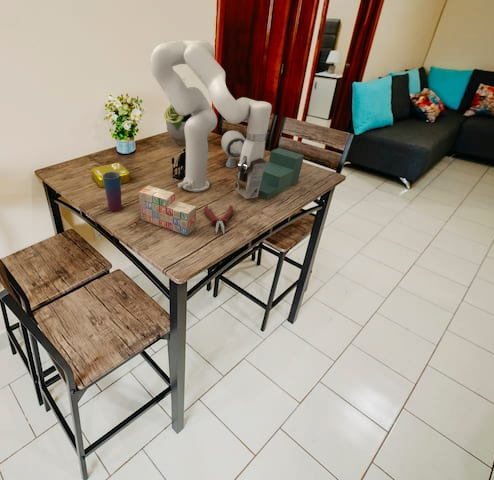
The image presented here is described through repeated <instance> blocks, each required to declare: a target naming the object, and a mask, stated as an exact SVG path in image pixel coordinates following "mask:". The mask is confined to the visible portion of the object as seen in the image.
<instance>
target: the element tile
mask: <svg viewBox="0 0 494 480" xmlns="http://www.w3.org/2000/svg"><path fill="white" fill-rule="evenodd" d="M112 171H114V172H118V173H120V180H121V185H122V184H126V183H129V182H131V173H130V171H129V170H128V169H127V168H126V167H125V166H124V165H123V164H122V163H121V162H114V163H110V164H104V165H100V166H95V167H92V168H91V175H92V176H91V177H92V178H93V180H94V181H95V182H96V184H97V185H98V186H99V187H100V188H105V186H104V181H103V174H104V173H106V172H112Z"/></svg>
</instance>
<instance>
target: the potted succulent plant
mask: <svg viewBox="0 0 494 480" xmlns="http://www.w3.org/2000/svg"><path fill="white" fill-rule="evenodd" d="M163 116H164V117H163V118H164V120H165V121H166V123H165V124H166V131H167V134H168V136H169V137H170V138H171V139H172V140H174V141H176V143H177V144H178V145H180V146H186V139H185V133H184V127H185V124H186V122H187V120H188V119H189V118H190V117H192V114H191V113H190V114H188V115H185V116H181V115H179V114H178V113H177V112H176V111H175V109H174V108H173V106H172V104H171V103H170V105H169V106H168V107H167V108H166V109H165V112H164V114H163Z"/></svg>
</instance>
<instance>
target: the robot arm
mask: <svg viewBox="0 0 494 480" xmlns="http://www.w3.org/2000/svg"><path fill="white" fill-rule="evenodd" d="M215 53H216V52H215V48H214V46H213V44H212V43H211V42H210V41H208V40H203V39H202V40H199V39H198V40H196V39H195V40H193V39H189V40H188V39H187V40H185V39H176V40H172V41H165V42H162V43H160V44H158V45H157V46H156V47H154V49H153V51H152V53H151V56H150V62H149V63H150V69H151V73H152V75H153V77H154V79H155V81H156V82H157V83H158V85H159V87H160V88H161V89H162V91H163V92H164V94H165V96H166V98H167V99H168V101H169V103H170V105H171V104H172V106H173V108H174V109H175V111H176V112H177V113H178V114H179V115H181V116H185V115H188V114H190V113H191V114H192V117H190V118H189V119H188V120H187V122H186V124H185V127H184V133H185V139H186V145H185V172H184V173H185V174H184V175H185V177H183V180H182V181H181V182H179V183H177V187H178V188H183V189H184V190H185V191H188V192H193V193H199V192H204V191H206V190H208V189H209V188H210V182H209V181H208V180H207V177H208V176H207V173H208V159H209V158H208V157H209V141H208V135H209V134H210V133H212V132H213V131H214V130H215V129H216V127H217V126H218V125H217V124H218V117H217V115H216V113H215V110H214V109H213V107H212V105H211V104H210V102H209V101H208V99H207V97H206V95H205V94H204V93H203V91H201V90H200V89H199V88H198V87H196V86H189V87H187V85H186V84H185V82H184V81H183V79H182V77H181V75H180V74H178V73H177V71H175V70H174V68H173V67H176V66H178V65H187V66H188V67H189V69H190V70H191V71H192V72H193V73H194V75H195V76H196V77H197V78H198V80H199V81H200V82H201V83H202V85H204V87H205V88H206V90H207V92H208V95H209V98H210V100H211V102H212V104H213V106H214V108H215V109H216V110H217V112H218V113H219V114H220V115H221V117H223V118H224V120H225V121H226V122H228V123H230V124H232V125H237V124H240V123H242V122H243V121H245V120H246V119H248V122H247V128H246V135H245V142H244V144H243V148H242V152H241V156H240V158H239V163H238V164H237V167H239V170H240V177H239V180H240V181H242V182H246V180H247V174H248V173H247V171H248V168H249V167H250V165H251V161H254V160H257V159H260V158H262V159H263V160H265V157H266V154H265V150H266V140H267V136H268V135H267V134H268V130H269V124H270V121H271V120H270V119H271V114H272V109H273V108H272V107H273V106H272V103H270V102H267V101H263V100H254V99H251V98H248V97H239V98H237V99H235V97H234V96H233V95H232V94H231V92H230V91H229V88H228V87H227V85H226V71H225V70H224V68H223V67H222V66H221V65H220V64H219V62H218V61H217V60H216V59H215ZM245 163H247V165H245ZM244 166H245V167H246V169H244Z"/></svg>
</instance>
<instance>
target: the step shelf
mask: <svg viewBox="0 0 494 480" xmlns="http://www.w3.org/2000/svg"><path fill="white" fill-rule="evenodd" d="M304 157H305V155H304V154H302V153H299V152H294V151H291V150H287V149H284V148H281V147H277V148H275V149H272V150H271V151H270V154H269V159H268V161H266V164H265V168H264V172H263V176H262V180H261V184H260V189H259V193H258V197H259V198H262V199H264V200H266V201H267V200H269V199H271V198H273V197H274V196H276V195H278V194H280V193H281V192H283V191H284V190H286V189H289V188H290V187H292V186H293V185H296V184H297V183H299V180H300V175H301V172H302V171H301V170H302V167H303V163H304Z"/></svg>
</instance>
